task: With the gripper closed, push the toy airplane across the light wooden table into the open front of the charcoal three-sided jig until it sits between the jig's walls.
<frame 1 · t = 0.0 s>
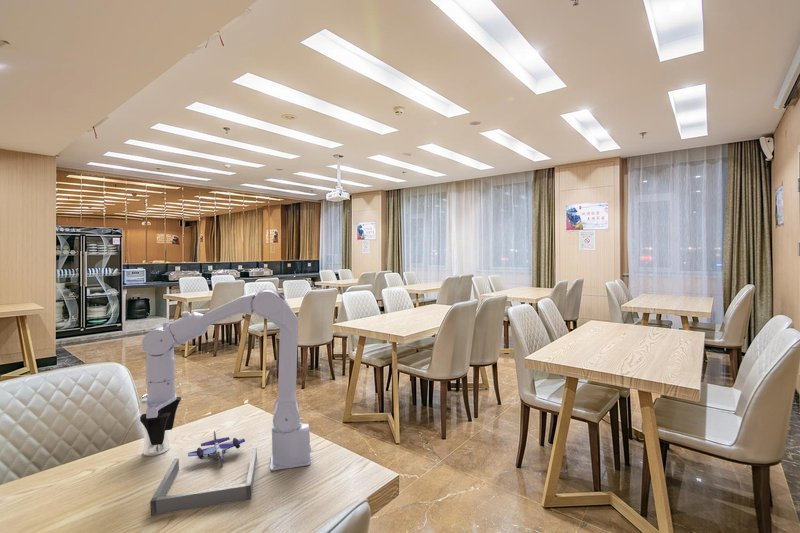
hand: (162, 436, 92), 10 cm above the table, tool pointing down, fingers open, 7 cm apart
airplane jig: (210, 484, 90), on the table
toy airplane: (218, 460, 101), on the table
silver metal cup: (156, 451, 106), on the table
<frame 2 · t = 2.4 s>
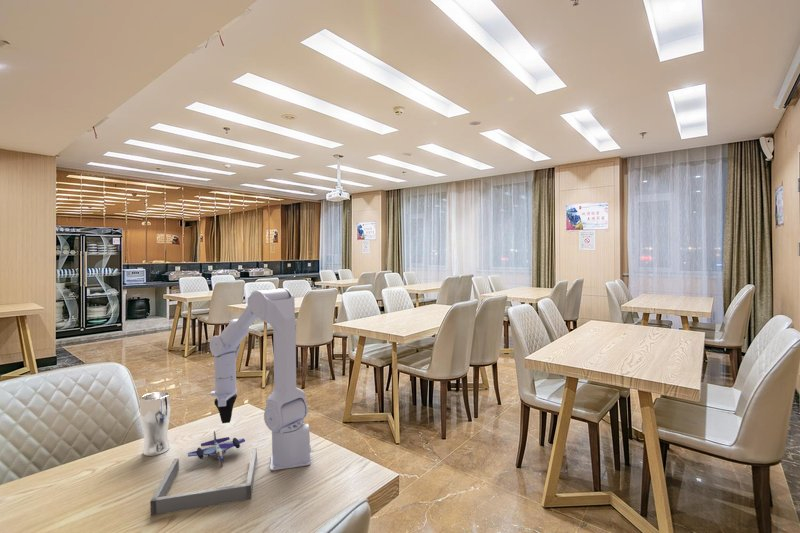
hand: (226, 422, 115), 4 cm above the table, tool pointing down, fingers closed
nothing on the table moved.
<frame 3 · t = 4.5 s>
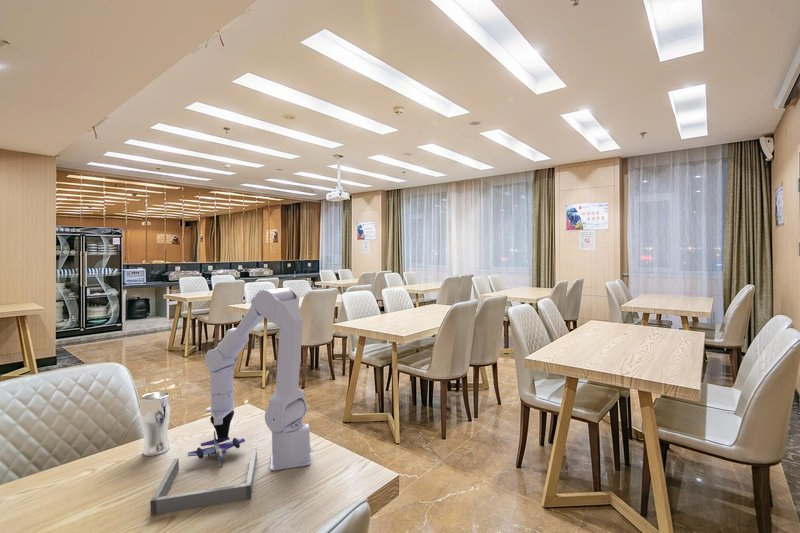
hand: (223, 440, 109), 2 cm above the table, tool pointing down, fingers closed
toy airplane: (218, 460, 101), on the table, touching gripper
everything else where it was.
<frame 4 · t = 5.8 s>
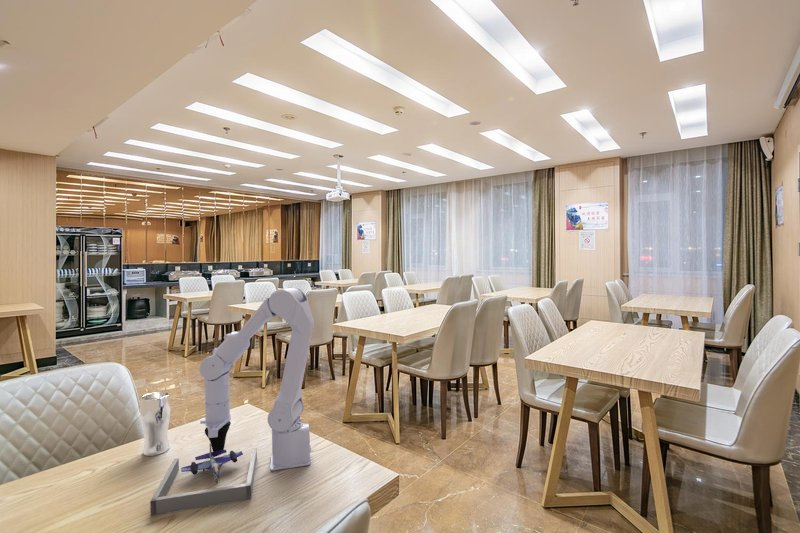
hand: (218, 453, 101), 2 cm above the table, tool pointing down, fingers closed
toy airplane: (214, 475, 94), on the table, touching gripper
everything else where it was.
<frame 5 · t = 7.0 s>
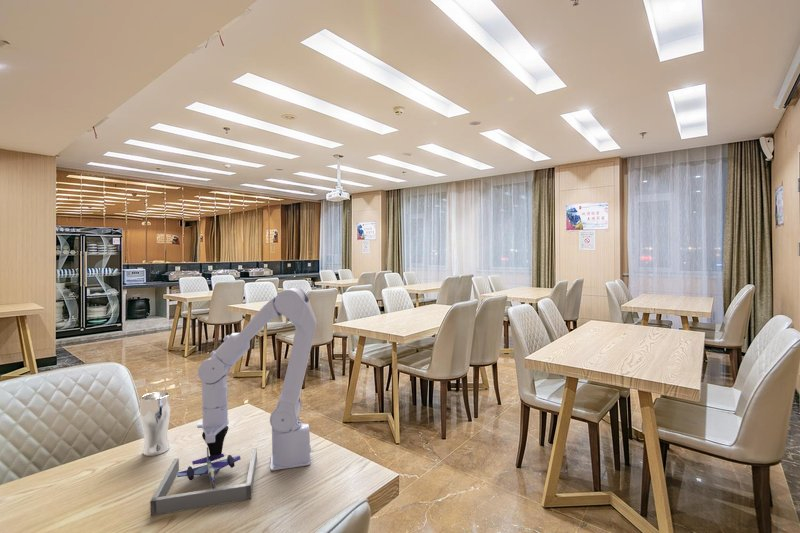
hand: (215, 458, 99), 2 cm above the table, tool pointing down, fingers closed, pressing on toy airplane
toy airplane: (211, 481, 92), on the table, touching airplane jig, gripper
everything else where it was.
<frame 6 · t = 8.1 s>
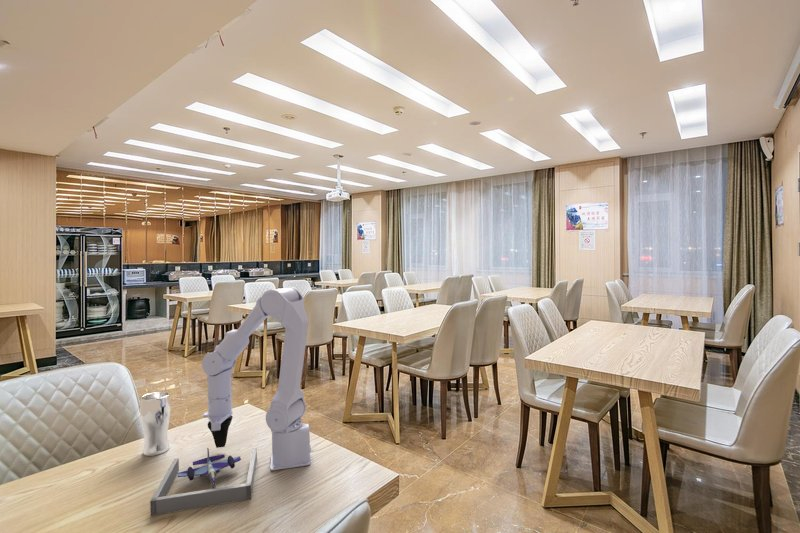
hand: (220, 446, 105), 2 cm above the table, tool pointing down, fingers closed
toy airplane: (211, 481, 92), on the table
everything else where it was.
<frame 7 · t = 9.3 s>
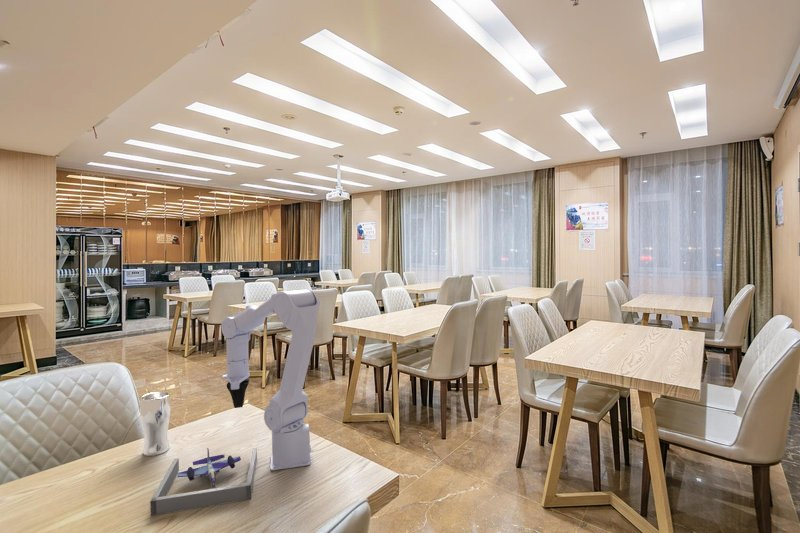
hand: (238, 406, 111), 10 cm above the table, tool pointing down, fingers closed
nothing on the table moved.
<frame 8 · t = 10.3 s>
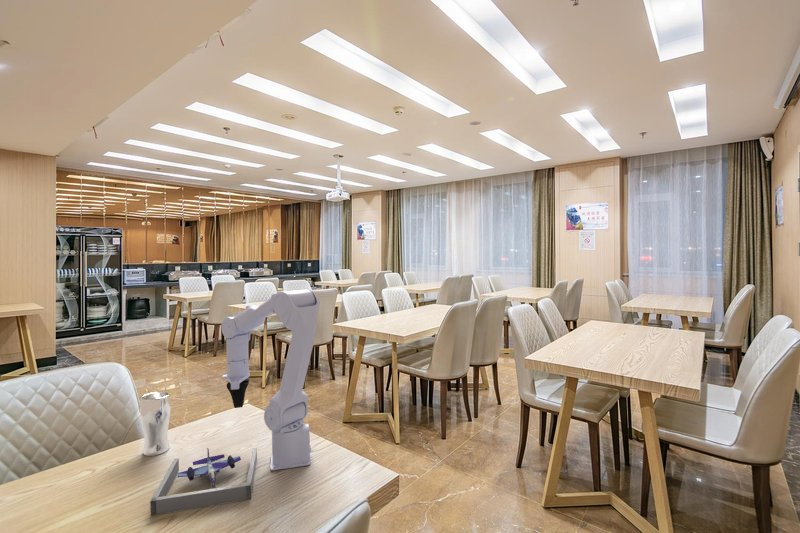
hand: (238, 406, 111), 10 cm above the table, tool pointing down, fingers closed
nothing on the table moved.
at the end: toy airplane 1.2 cm off-centre on the airplane jig, point 0.0 cm above the airplane jig's base; toy airplane tilted 2° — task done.
